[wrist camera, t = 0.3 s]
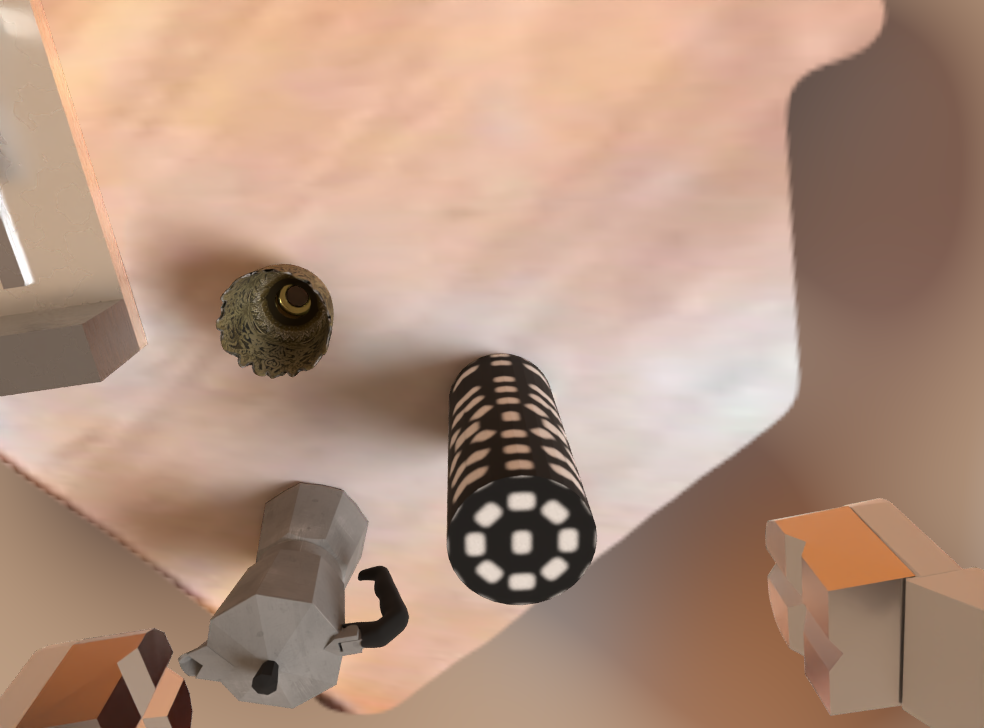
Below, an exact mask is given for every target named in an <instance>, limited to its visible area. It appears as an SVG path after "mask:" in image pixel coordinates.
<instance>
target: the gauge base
mask: <svg viewBox="0 0 984 728" xmlns="http://www.w3.org/2000/svg"><path fill="white" fill-rule="evenodd" d="M147 344H148V343H147V339H146V336H145V333H144V330H143V327H142V323H141V320H140V317H139V314H138V311H137V307H136V304H135V301H134V298H133V294H132V291H131V288H130V285H129V282H128V278H127V275H126V272H125V269H124V266H123V262H122V259H121V256H120V253H119V250H118V246H117V243H116V240H115V237H114V234H113V230H112V227H111V224H110V221H109V218H108V214H107V211H106V208H105V205H104V201H103V198H102V195H101V192H100V189H99V185H98V182H97V179H96V176H95V173H94V169H93V166H92V163H91V160H90V157H89V153H88V150H87V147H86V144H85V141H84V137H83V134H82V131H81V128H80V124H79V121H78V118H77V115H76V112H75V108H74V105H73V102H72V99H71V96H70V92H69V89H68V86H67V83H66V80H65V76H64V73H63V70H62V67H61V64H60V60H59V57H58V54H57V51H56V48H55V44H54V41H53V38H52V35H51V31H50V28H49V25H48V22H47V19H46V15H45V12H44V9H43V6H42V3H41V0H0V396H6V395H13V394H20V393H27V392H34V391H40V390H47V389H54V388H61V387H68V386H75V385H82V384H89V383H95V382H101V381H103V380H104V379H105V378H106V377H108V376H109V375H110V374H111V373H113V372H114V371H115V370H116V369H118V368H119V367H120V366H121V365H123V364H124V363H125V362H126V361H127V360H129V359H130V358H131V357H132V356H134V355H135V354H136V353H137V352H139V351H140V350H141V349H142V348H144V347H145V346H146V345H147Z"/></svg>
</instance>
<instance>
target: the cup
mask: <svg viewBox="0 0 984 728" xmlns="http://www.w3.org/2000/svg"><path fill="white" fill-rule="evenodd" d="M292 286H300V287H301V288H303V289H304V290H305V291H306V292H307V293H308V301H307V303H306V304H305V305H303V306H300V307H296V306H293V305H291V304H290V303H289V302H288V300H287V297H286V294H287V291H288V289H289V288H290V287H292ZM220 299H221V300H222V302H223V305H222V306H221V316H220V317H219V318H218V319H217V320H216V328H217V330H219V331H221V335H220V340H221V344H222V347H223V349H224V350H225V351H226V352H227V353H229V354H231V355H234V356H236V357H238V359H237V360H238V364H239V366H240V367H242V368H243V367H246V366H248V365H252V369H253V372H254V373H255V374H256V375H258V376H266V375H268V376H269V377H270V378H271V379H273V378H276V377H278V376H283V375H285V373H288V375H289V376H291V377H294V376H296V375H297V374H298V373H299V372H300V371H303V370H304V371H307V370H310V369H312V368H313V367H315V365H316V364H317V363H318V362H319V360H320V359H321V358H322V356H323V355H325V353H326V352H327V349H328V346H329V340H330V337H331V333H332V326H333V304H332V300H331V296H330V294H329V292H328V290H327V288H326V287H325V285H324V284H323V282H322V281H321V280H320V279H319V278H318V277H317V276H316V275H314V274H313V273H312V272H310V271H308V270H306V269H304V268H302V267H299V266H295V265H289V264H279V265H272V266H268V267H265V268H262V269H259V270H256V271H254V272H251V273H249V274H246V275H244V276H242V277H240V278H238V279H236V280H235V281H234V282H233V283H232V285H231V286H230V287H229V289H227V290H226V291H225V292H224V293H223V294H222V296H221V298H220Z"/></svg>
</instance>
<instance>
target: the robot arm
mask: <svg viewBox="0 0 984 728" xmlns="http://www.w3.org/2000/svg"><path fill="white" fill-rule="evenodd" d="M765 535H766V549H767V550H768V552H769V553H770V555H771V556H772V557H773V559H774V561H775V562H776V565H775V566H774V567H773V569H772V570H771V572H770V573H769V575H768V587H769V588H768V589H769V598H770V603H771V606H772V610H773V614H774V618H775V621H776V623H777V625H778V628H779V630H780V633H781V635H782V636H783V638H784V640H785V642H786V643H787V645H788V647H789V648H790V649H792V650H793V651H795V652H797V653H799V654H801V655H803V656H804V659H805V675H806V677H807V678H808V680H809V681H810V683H811V684H812V686H813V688H814V689H815V691H816V693H817V694H818V696H819V698H820V699H821V701H822V702H823V704H824V705H825V707H826V709H827V711H828V712H829V714H830V715H838V714H845V713H852V712H859V711H866V710H873V709H880V708H887V707H894V706H901V705H902V709H903V710H905V711H906V712H908V713H909V714H911V715H913V716H914V717H916V718H917V719H919V720H920V721H922V722H923V723H925V724H926V725H928V726H930V727H931V728H984V570H983V569H980V568H977V567H972V568H966V569H963V568H961V567H960V566H959V565H958V564H957V563H956V562H955V561H954V560H953V559H952V558H951V557H950V556H948V555H947V554H946V553H945V552H944V551H943V550H942V549H941V548H940V547H939V546H938V545H937V544H935V543H934V542H933V541H932V540H931V539H930V538H929V537H928V536H927V535H926V534H925V533H924V532H922V531H921V530H920V529H919V528H918V527H917V526H916V525H915V524H914V523H913V522H911V520H909V519H908V518H907V517H906V516H905V515H904V514H903V513H902V512H901V511H900V510H899V509H898V508H896V507H895V506H894V505H893V504H892V503H891V502H890V501H888V500H885V499H882V498H878V499H873V500H869V501H864V502H859V503H854V504H849V505H844V506H843V507H839V508H834V509H829V510H823V511H818V512H813V513H807V514H802V515H797V516H792V517H787V518H781V519H776V520H770V521H768V522H767V526H766V532H765ZM172 654H173V651H172V648H171V646H170V644H169V642H168V640H167V638H166V635H165V633H164V632H162V631H160V630H157V629H155V628H152V629H146V630H139V631H132V632H126V633H120V634H113V635H107V636H100V637H93V638H87V639H83V640H75V641H69V642H63V643H58V644H52V645H47V646H45V647H43V648H41V649H39V650H36V651H35V652H34V654H33V655H32V656H31V658H30V659H29V660H28V662H27V663H26V664H25V666H24V667H23V668H22V669H21V671H20V672H19V673H18V675H17V676H16V677H15V679H14V680H13V681H12V683H11V684H10V686H9V687H8V688H7V689H6V691H5V692H4V693H3V695H2V696H1V697H0V728H191V720H192V706H191V699H190V693H189V690H188V688H187V685H186V683H185V680H184V678H182V677H181V676H179V675H178V674H177V673H175V672H174V671H172V670H171V669H169V668H168V667H167V666H168V664H169V661H170V659H171V656H172Z"/></svg>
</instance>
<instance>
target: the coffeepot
mask: <svg viewBox="0 0 984 728" xmlns="http://www.w3.org/2000/svg"><path fill="white" fill-rule="evenodd" d="M367 527H368V520H367V519H366V518H365V516H364V515H363V514H362V512H361V511H360V509H359V507H358V506H357V504H356V503H355V502H354V501H353V500H352V499H351V498H350V497H348V495H347V494H346V493H345V492H344V491H343V490H340V489H336V488H332V487H329V486H325V485H319V484H305V483H299V484H297V485H296V486H294V487H292V488H290V489H288V490H286V491H284V492H282V493H281V494H280V495H278V496H277V497H276V498H274V499H272V500H271V501H269V502H267V503H266V504H265V510H264V516H263V522H262V528H261V534H260V540H259V546H258V552H257V558H256V563H255V564H254V565H252V566H251V567H250V568H248V570H247V571H246V572H245V574H244V575H243V576H242V578H241V579H240V580H239V582H238V583H237V584H236V586H235V587H234V589H233V590H232V591H231V593H230V594H229V595H228V597H227V598H226V599H225V601H224V602H223V603H222V605H221V606H220V607H219V609H218V610H217V612H216V613H215V614H214V616H213V617H212V618H211V620H210V626H209V634H208V640H207V641H206V642H204V643H203V644H202V645H201V646H199V647H198V648H197V649H194V650H192V651H190V652H188V653H185V654H183V655H181V656H180V657H179V658H178V660H179V663H180V666H181V668H182V669H183V671H184V672H185V673H186V674H187V675H188V676H196V678H198V679H205V680H212V681H220V682H221V683H222V684H223V685H224V686H225V687H226V688H227V689H228V690H229V691H230V692H231V693H232V694H233V695H234V696H235V697H236V698H237V699H238V700H239V701H244V702H251V703H258V704H265V705H272V706H279V707H285V708H295V707H296V706H298V705H300V704H302V703H304V702H306V701H307V700H309V699H311V698H313V697H315V696H317V695H318V694H320V693H322V692H324V691H326V690H328V689H329V688H331V687H333V686H335V685H336V684H337V679H338V674H339V670H340V665H341V660H342V656H345V655H351V654H357V653H362V648H377V647H382V646H385V645H387V644H388V643H389V642H390V641H391V640H393V639H394V638H395V637H396V636H397V635H399V634H400V633H401V632H402V631H403V630H404V629H405V627H406V626H407V623H408V619H409V615H408V611H407V608H406V606H405V604H404V603H403V601H402V599H401V597H400V594H399V592H398V590H397V588H396V586H395V584H394V582H393V579H392V577H391V575H390V573H389V571H388V569H387V568H385V567H383V566H376V567H372V568H368V569H365V570H362V571H361V572H360V573H359V576H358V580H360V581H362V580H373V581H375V585H374V590H375V594H376V596H377V597H378V598H379V599H380V609H381V613H382V616H383V617H382V618H380V619H379V620H377V621H373V622H356V623H348V624H345V592H344V590H345V588H346V586H347V584H348V582H349V580H350V578H351V576H352V574H353V572H354V570H355V568H356V566H357V564H358V562H359V560H360V558H361V555H362V551H363V546H364V541H365V536H366V531H367Z"/></svg>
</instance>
